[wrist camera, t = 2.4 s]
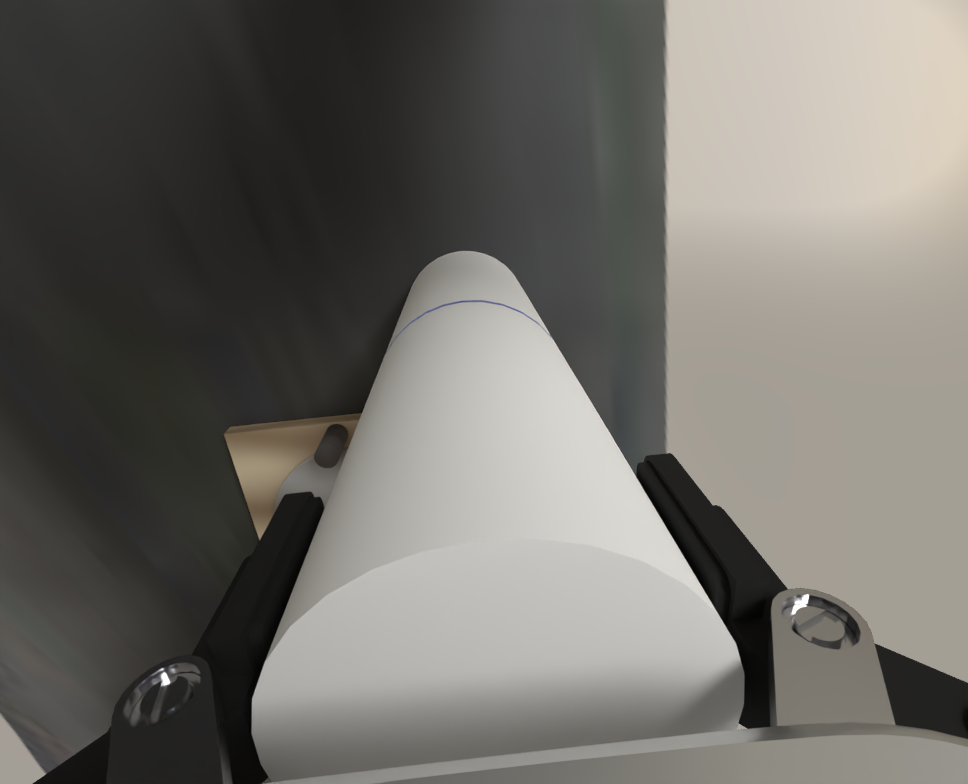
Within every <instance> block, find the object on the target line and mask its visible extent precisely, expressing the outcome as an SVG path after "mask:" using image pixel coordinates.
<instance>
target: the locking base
mask: <svg viewBox="0 0 968 784" xmlns="http://www.w3.org/2000/svg"><path fill="white" fill-rule="evenodd" d="M361 414H362V413H358V414H349V415H339V416H329V417H320V418H310V419H300V420H291V421H281V422H271V423H262V424H252V425H243V426H233V427H230V428H229V429H228V430H227V431H226V432H225V433H224V436H225V439H226V442H227V445H228V448H229V451H230V454H231V457H232V460H233V463H234V466H235V469H236V472H237V475H238V478H239V481H240V484H241V487H242V490H243V493H244V496H245V499H246V502H247V505H248V508H249V511H250V514H251V517H252V519H253V522H254V525H255V528H256V531H257V534H258V537H259V540H260V539H261V537H262V535H263V533H264V532H265V530H266V528H267V526H268V524H269V522H270V520H271V519H272V517H273V515H274V513H275V511H276V509H277V507H278V505H279V504H280V502H281V500H282V498H283V496H284V495H285V494H290V493H299V492H309V491H310V492H312V493H313V495H314V497H321V499H322V501H323V504H324V508H325V506H326V504H327V501H328V499H329V496H330V493H331V491H332V488H333V486H334V483H335V481H336V478H337V476H338V473H339V470H340V468H341V465H342V463H343V460H344V458H345V455H346V452H347V450H348V447H349V445H350V442H351V440H352V437H353V435H354V432H355V430H356V427H357V425H358V422H359V419H360V417H361Z"/></svg>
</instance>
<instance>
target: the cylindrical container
mask: <svg viewBox="0 0 968 784" xmlns="http://www.w3.org/2000/svg"><path fill="white" fill-rule="evenodd" d="M743 706H744V671H743V667H742V663H741V660H740V656H739V652H738V649H737V645H736V643H735V641H734V640H733V638H732V636H731V635H730V633H729V631H728V630H727V628H726V626H725V625H724V623H723V621H722V620H721V618H720V616H719V615H718V613H717V611H716V610H715V608H714V606H713V605H712V603H711V601H710V600H709V598H708V596H707V594H706V593H705V591H704V589H703V588H702V586H701V584H700V583H699V581H698V579H697V578H696V576H695V574H694V573H693V571H692V569H691V568H690V566H689V564H688V563H687V561H686V559H685V558H684V556H683V554H682V553H681V551H680V549H679V548H678V546H677V544H676V543H675V541H674V539H673V538H672V536H671V534H670V533H669V531H668V529H667V528H666V526H665V524H664V523H663V521H662V519H661V518H660V516H659V514H658V513H657V511H656V509H655V508H654V506H653V504H652V503H651V501H650V499H649V498H648V496H647V494H646V493H645V491H644V489H643V488H642V486H641V484H640V483H639V481H638V479H637V478H636V476H635V474H634V473H633V471H632V469H631V468H630V466H629V464H628V463H627V461H626V459H625V458H624V456H623V454H622V453H621V451H620V449H619V448H618V446H617V444H616V443H615V441H614V439H613V438H612V436H611V434H610V433H609V431H608V429H607V428H606V426H605V424H604V423H603V421H602V419H601V418H600V416H599V414H598V413H597V411H596V409H595V408H594V406H593V405H592V403H591V401H590V400H589V398H588V396H587V395H586V393H585V391H584V390H583V388H582V386H581V385H580V383H579V382H578V380H577V378H576V377H575V375H574V373H573V372H572V370H571V368H570V367H569V365H568V364H567V362H566V360H565V359H564V357H563V355H562V354H561V352H560V350H559V349H558V347H557V345H556V344H555V342H554V340H553V339H552V337H551V335H550V334H549V332H548V330H547V329H546V327H545V325H544V323H543V322H542V320H541V318H540V317H539V315H538V313H537V312H536V310H535V308H534V307H533V305H532V303H531V302H530V300H529V298H528V297H527V295H526V294H525V292H524V290H523V289H522V287H521V285H520V284H519V282H518V281H517V279H516V277H515V276H514V274H513V273H512V272H511V271H510V270H509V269H508V268H507V267H506V266H505V265H504V264H503V263H501V262H500V261H498V260H497V259H495V258H493V257H491V256H489V255H486V254H484V253H479V252H474V251H458V252H453V253H448V254H446V255H444V256H441V257H439V258H437V259H435V260H434V261H432V262H431V263H430V264H428V265H427V266H426V267H425V268H424V269H423V270H422V271H421V272H420V273H419V275H418V276H417V278H416V280H415V281H414V283H413V285H412V287H411V290H410V292H409V295H408V297H407V300H406V302H405V305H404V307H403V310H402V312H401V315H400V317H399V320H398V323H397V325H396V328H395V330H394V333H393V335H392V338H391V341H390V343H389V346H388V348H387V351H386V354H385V356H384V359H383V361H382V364H381V366H380V369H379V371H378V374H377V376H376V379H375V381H374V384H373V387H372V389H371V392H370V394H369V397H368V399H367V402H366V404H365V407H364V409H363V412H362V414H361V417H360V419H359V422H358V425H357V427H356V430H355V432H354V435H353V437H352V440H351V442H350V445H349V447H348V450H347V452H346V455H345V458H344V460H343V463H342V465H341V468H340V470H339V473H338V476H337V478H336V481H335V483H334V486H333V488H332V491H331V493H330V496H329V499H328V501H327V504H326V506H325V509H324V511H323V514H322V517H321V519H320V522H319V524H318V527H317V529H316V532H315V535H314V537H313V540H312V542H311V545H310V547H309V550H308V552H307V555H306V558H305V560H304V563H303V565H302V568H301V570H300V573H299V576H298V578H297V581H296V583H295V586H294V588H293V591H292V593H291V596H290V599H289V601H288V604H287V606H286V609H285V611H284V614H283V617H282V619H281V622H280V624H279V627H278V629H277V632H276V635H275V637H274V640H273V642H272V645H271V647H270V650H269V652H268V655H267V658H266V660H265V663H264V666H263V669H262V671H261V674H260V677H259V680H258V683H257V686H256V689H255V692H254V695H253V698H252V732H251V733H252V737H253V740H254V743H255V747H256V750H257V754H258V757H259V760H260V764H261V765H262V767H263V769H264V770H265V772H266V773H267V775H268V777H269V778H270V780H271V782H279V781H287V780H295V779H303V778H312V777H320V776H328V775H337V774H345V773H353V772H362V771H370V770H378V769H387V768H395V767H404V766H412V765H420V764H429V763H438V762H447V761H455V760H464V759H473V758H481V757H490V756H499V755H508V754H517V753H526V752H534V751H543V750H552V749H561V748H570V747H579V746H588V745H597V744H606V743H616V742H625V741H634V740H644V739H653V738H662V737H672V736H681V735H690V734H699V733H709V732H718V731H729V730H737V726H738V723H739V720H740V716H741V713H742V709H743Z"/></svg>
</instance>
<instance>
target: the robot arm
mask: <svg viewBox="0 0 968 784" xmlns="http://www.w3.org/2000/svg"><path fill="white" fill-rule="evenodd" d="M637 479H638V481H639V483H640V484H641V486H642V488H643V489H644V491H645V493H646V494H647V496H648V498H649V499H650V501H651V503H652V504H653V506H654V508H655V509H656V511H657V513H658V514H659V516H660V518H661V519H662V521H663V523H664V524H665V526H666V528H667V529H668V531H669V533H670V534H671V536H672V538H673V539H674V541H675V543H676V544H677V546H678V548H679V549H680V551H681V553H682V554H683V556H684V558H685V559H686V561H687V563H688V564H689V566H690V568H691V569H692V571H693V573H694V574H695V576H696V578H697V579H698V581H699V583H700V584H701V586H702V588H703V589H704V591H705V593H706V594H707V596H708V598H709V600H710V601H711V603H712V605H713V606H714V608H715V610H716V611H717V613H718V615H719V616H720V618H721V620H722V621H723V623H724V625H725V626H726V628H727V630H728V631H729V633H730V635H731V636H732V638H733V640H734V641H735V643H736V645H737V649H738V652H739V656H740V660H741V663H742V667H743V671H744V706H743V709H742V713H741V716H740V720H739V724H741V725H742V726H744V727H746V728H747V729H741V730H729V731H718V732H709V733H699V734H690V735H681V736H672V737H662V738H653V739H644V740H634V741H625V742H616V743H606V744H597V745H588V746H579V747H570V748H561V749H552V750H543V751H534V752H526V753H517V754H508V755H499V756H490V757H481V758H473V759H464V760H455V761H447V762H438V763H429V764H420V765H412V766H404V767H395V768H387V769H378V770H370V771H362V772H353V773H345V774H337V775H328V776H320V777H312V778H303V779H295V780H287V781H279V782H271V783H264V784H968V683H966V682H964V681H962V680H959V679H957V678H955V677H952V676H950V675H947V674H945V673H943V672H940V671H938V670H936V669H934V668H931V667H929V666H926V665H924V664H922V663H919V662H917V661H915V660H912V659H910V658H907V657H905V656H903V655H901V654H898V653H896V652H894V651H891V650H889V649H887V648H884V647H882V646H880V645H877V644H875V643H874V640H873V636H872V632H871V630H870V628H869V626H868V624H867V622H866V621H865V620H864V619H863V618H862V616H861V615H860V614H859V613H858V612H857V611H856V610H854V609H853V608H852V607H850V606H849V605H848V604H846V603H845V602H843V601H841V600H839V599H837V598H835V597H834V596H831V595H829V594H826V593H823V592H820V591H817V590H811V589H804V588H796V589H787V587H786V586H785V585H784V584H783V583H782V582H781V580H780V579H779V578H778V576H777V575H776V574H775V573H774V571H773V570H772V569H771V568H770V566H769V565H768V564H767V563H766V561H765V560H764V559H763V558H762V556H761V555H760V554H759V553H758V552H757V550H756V549H755V548H754V547H753V545H752V544H751V543H750V542H749V540H748V539H747V538H746V537H745V535H744V534H743V533H742V532H741V530H740V529H739V528H738V527H737V526H736V524H735V523H734V522H733V521H732V519H731V518H730V517H729V516H728V515H727V513H726V512H725V511H724V510H723V509H722V508H721V507H720V506H717V505H715V506H713V505H712V504H711V503H710V501H709V500H708V499H707V498H706V496H705V495H704V494H703V493H702V491H701V490H700V489H699V487H698V486H697V485H696V484H695V482H694V481H693V480H692V478H691V477H690V476H689V475H688V473H687V472H686V471H685V470H684V468H683V467H682V466H681V464H680V463H679V462H678V461H677V459H676V458H675V457H674V456H673V455H672V454H670V453H668V454H659V455H649V456H646V457H645V460H644V462H642V463H638V465H637ZM324 509H325V508H324V504H323V501H322V499H321V497H314V495H313V493H312V492H310V491H309V492H299V493H290V494H285V495H284V496H283V498H282V500H281V502H280V504H279V505H278V507H277V509H276V511H275V513H274V515H273V517H272V519H271V520H270V522H269V524H268V526H267V528H266V530H265V532H264V533H263V535H262V537H261V539H260V541H259V543H258V545H257V547H256V548H255V550H254V552H253V554H252V555H250V556H248V557H247V558H246V559H245V560H244V562H243V563H242V565H241V566H240V568H239V570H238V572H237V574H236V576H235V577H234V579H233V581H232V583H231V585H230V587H229V588H228V590H227V592H226V594H225V596H224V597H223V599H222V601H221V603H220V605H219V607H218V608H217V610H216V612H215V614H214V616H213V617H212V619H211V621H210V623H209V625H208V627H207V628H206V630H205V632H204V634H203V636H202V638H201V639H200V641H199V643H198V645H197V647H196V648H195V650H194V652H193V654H192V655H186V656H178V657H175V658H172V659H169V660H166V661H163V662H161V663H160V664H158V665H156V666H154V667H152V668H151V669H149V670H147V671H146V672H145V673H144V674H142V675H141V676H140V677H139V678H137V679H136V680H135V681H134V682H133V683H132V684H131V685H130V686H129V687H128V688H127V689H126V691H125V692H124V693H123V694H122V696H121V698H120V699H119V701H118V702H117V704H116V706H115V709H114V713H113V716H112V724H111V730H110V731H108V732H107V733H106V734H104V735H103V736H101V737H100V738H98V739H97V740H95V741H94V742H93V743H91V744H90V745H88V746H87V747H85V748H84V749H82V750H81V751H79V752H78V753H77V754H75V755H74V756H72V757H71V758H69V759H68V760H66V761H65V762H63V763H62V764H61V765H59V766H58V767H56V768H55V769H53V770H52V771H50V772H49V773H48V774H46V775H45V776H43V777H42V778H40V779H39V780H37V781H36V782H34V783H33V784H261V783H262V782H264V781H265V780H266V779H267V778H268V775H267V773H266V772H265V770H264V769H263V767H262V765H261V764H260V760H259V757H258V754H257V750H256V747H255V743H254V740H253V737H252V733H251V732H252V698H253V695H254V692H255V689H256V686H257V683H258V680H259V677H260V674H261V671H262V669H263V666H264V663H265V660H266V658H267V655H268V652H269V650H270V647H271V645H272V642H273V640H274V637H275V635H276V632H277V629H278V627H279V624H280V622H281V619H282V617H283V614H284V611H285V609H286V606H287V604H288V601H289V599H290V596H291V593H292V591H293V588H294V586H295V583H296V581H297V578H298V576H299V573H300V570H301V568H302V565H303V563H304V560H305V558H306V555H307V552H308V550H309V547H310V545H311V542H312V540H313V537H314V535H315V532H316V529H317V527H318V524H319V522H320V519H321V517H322V514H323V511H324Z"/></svg>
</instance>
